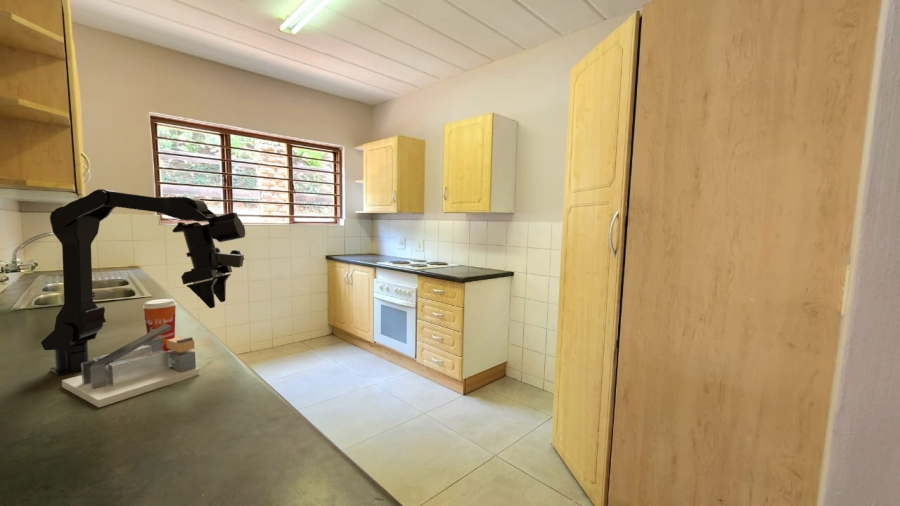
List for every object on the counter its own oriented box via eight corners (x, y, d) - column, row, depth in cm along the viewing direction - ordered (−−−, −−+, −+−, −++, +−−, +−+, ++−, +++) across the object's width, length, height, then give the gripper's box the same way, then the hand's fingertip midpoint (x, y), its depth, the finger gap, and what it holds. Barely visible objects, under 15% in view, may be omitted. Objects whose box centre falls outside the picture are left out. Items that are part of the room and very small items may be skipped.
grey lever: (92, 367, 77) (90, 364, 77) (166, 326, 89) (164, 324, 89) (98, 370, 76) (95, 367, 76) (172, 328, 88) (170, 325, 88)
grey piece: (72, 378, 80) (70, 356, 79) (159, 355, 94) (158, 336, 94) (106, 395, 72) (104, 371, 71) (195, 368, 86) (194, 347, 86)
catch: (166, 348, 86) (166, 337, 86) (181, 344, 88) (180, 334, 88) (180, 352, 83) (179, 341, 83) (194, 348, 85) (194, 337, 85)
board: (62, 386, 79) (61, 380, 79) (159, 360, 95) (159, 355, 95) (98, 407, 70) (98, 400, 70) (199, 374, 86) (199, 368, 86)
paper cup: (141, 355, 99) (138, 304, 98) (148, 347, 105) (146, 299, 104) (176, 351, 102) (174, 302, 101) (181, 343, 109) (179, 297, 108)
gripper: (226, 239, 86) (243, 302, 87) (244, 239, 103) (258, 291, 105) (172, 250, 82) (191, 315, 84) (200, 248, 100) (215, 302, 102)
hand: (218, 304), depth 94 cm, fingers open, 9 cm apart
